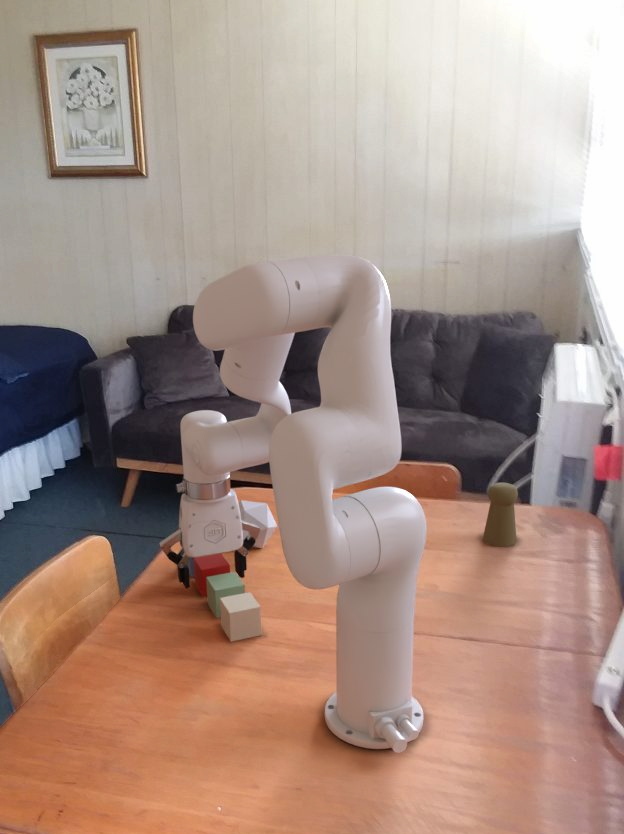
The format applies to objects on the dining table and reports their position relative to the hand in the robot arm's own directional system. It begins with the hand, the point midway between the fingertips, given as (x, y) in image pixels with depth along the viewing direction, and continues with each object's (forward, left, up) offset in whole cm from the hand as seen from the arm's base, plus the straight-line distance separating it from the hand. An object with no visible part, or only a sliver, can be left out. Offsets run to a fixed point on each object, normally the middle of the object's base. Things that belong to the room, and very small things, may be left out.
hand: (213, 579), depth 143 cm
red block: (0, 0, -2) cm, 2 cm away
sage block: (-7, 0, -2) cm, 8 cm away
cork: (-3, -55, -2) cm, 55 cm away
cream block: (-15, 0, -2) cm, 15 cm away
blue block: (+8, 0, -2) cm, 8 cm away
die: (+14, -12, -2) cm, 19 cm away
